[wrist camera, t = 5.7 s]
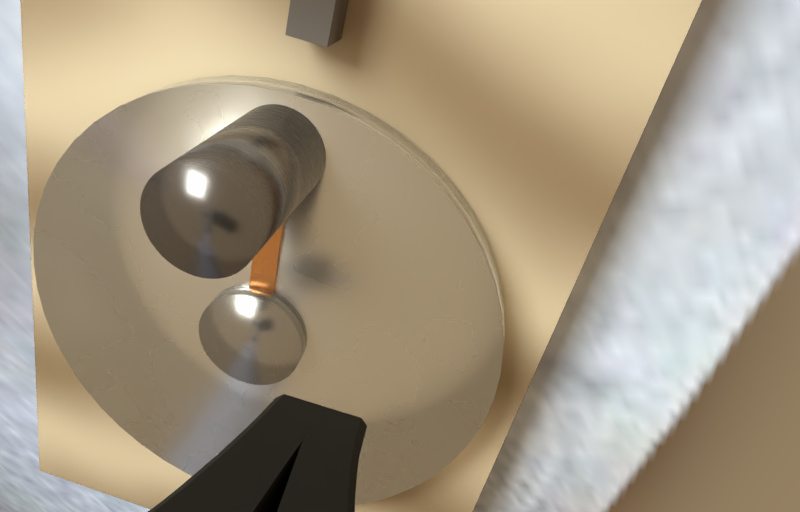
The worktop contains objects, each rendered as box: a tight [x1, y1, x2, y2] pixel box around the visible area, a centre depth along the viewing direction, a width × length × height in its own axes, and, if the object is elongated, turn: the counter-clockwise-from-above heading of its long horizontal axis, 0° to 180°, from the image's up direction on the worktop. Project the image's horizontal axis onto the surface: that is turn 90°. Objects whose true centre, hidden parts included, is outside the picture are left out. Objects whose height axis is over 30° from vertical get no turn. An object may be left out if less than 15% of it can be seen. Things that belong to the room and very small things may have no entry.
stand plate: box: [20, 0, 702, 512], centre depth 20 cm, size 24×16×3 cm, turn 166°
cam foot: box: [33, 75, 506, 505], centre depth 17 cm, size 14×14×5 cm
